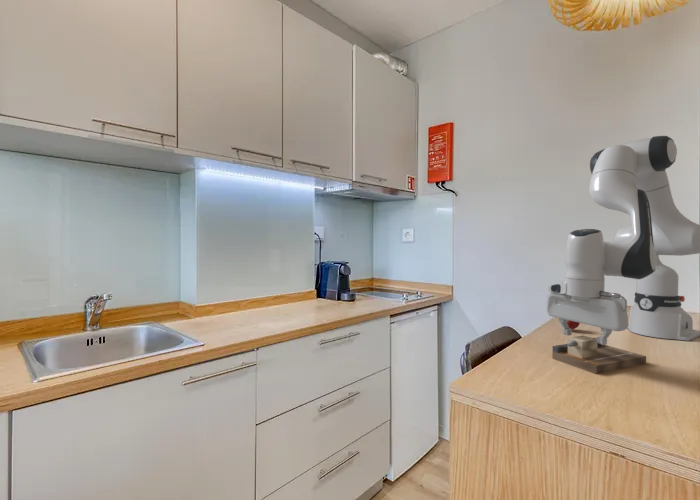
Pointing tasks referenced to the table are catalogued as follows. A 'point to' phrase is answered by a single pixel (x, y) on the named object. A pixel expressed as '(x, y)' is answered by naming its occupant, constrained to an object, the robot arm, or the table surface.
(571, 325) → the onion
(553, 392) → the table surface
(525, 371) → the table surface
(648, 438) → the table surface
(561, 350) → the board
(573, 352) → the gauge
